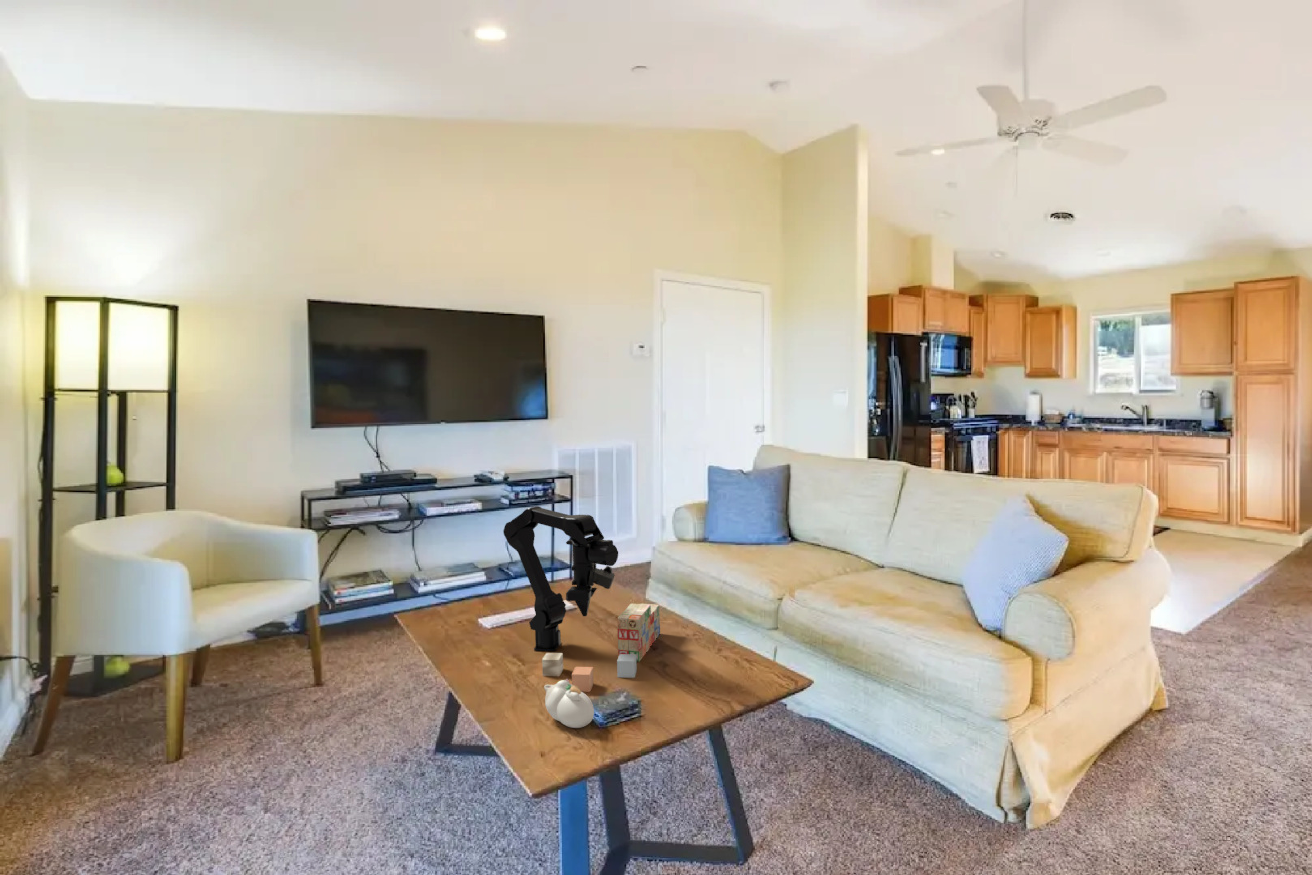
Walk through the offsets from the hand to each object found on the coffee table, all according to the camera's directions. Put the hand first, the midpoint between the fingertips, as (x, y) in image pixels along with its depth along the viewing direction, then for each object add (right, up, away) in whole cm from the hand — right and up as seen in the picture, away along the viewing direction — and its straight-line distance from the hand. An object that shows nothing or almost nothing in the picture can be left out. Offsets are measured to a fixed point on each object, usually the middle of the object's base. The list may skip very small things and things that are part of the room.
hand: (585, 615), depth 186 cm
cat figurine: (0, -15, -34) cm, 37 cm away
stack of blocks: (+15, -11, +8) cm, 21 cm away
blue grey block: (+12, -13, -10) cm, 20 cm away
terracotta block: (+1, -14, -18) cm, 22 cm away
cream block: (-8, -13, -8) cm, 17 cm away
